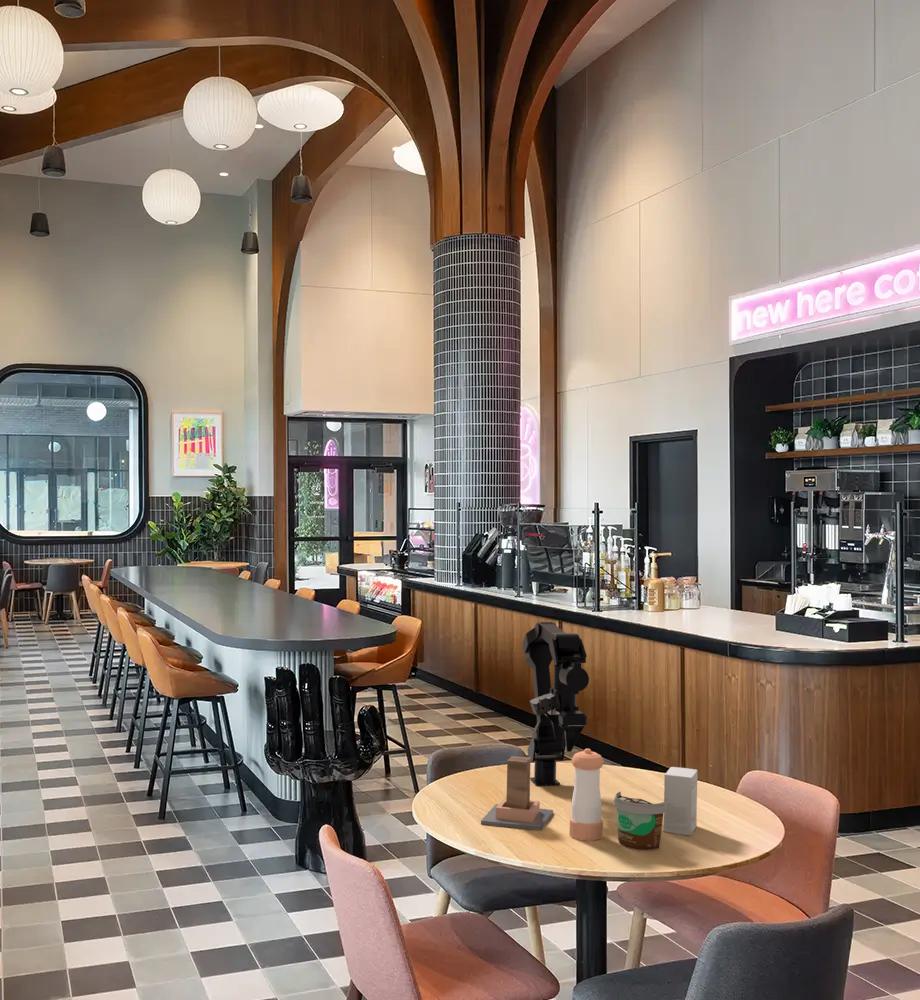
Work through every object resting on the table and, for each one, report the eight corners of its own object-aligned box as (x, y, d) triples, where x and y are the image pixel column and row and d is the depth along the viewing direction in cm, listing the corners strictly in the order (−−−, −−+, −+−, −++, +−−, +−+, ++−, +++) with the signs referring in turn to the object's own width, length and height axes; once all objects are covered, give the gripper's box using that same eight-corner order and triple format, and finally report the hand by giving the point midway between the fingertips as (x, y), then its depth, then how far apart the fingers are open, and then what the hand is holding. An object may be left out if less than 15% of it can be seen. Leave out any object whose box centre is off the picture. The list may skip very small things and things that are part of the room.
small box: (669, 822, 243) (670, 766, 243) (697, 825, 241) (698, 769, 241) (662, 832, 236) (663, 774, 236) (691, 836, 234) (692, 777, 234)
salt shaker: (596, 829, 236) (598, 744, 236) (606, 840, 229) (608, 752, 229) (565, 830, 235) (567, 745, 235) (574, 841, 228) (576, 753, 228)
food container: (601, 842, 228) (602, 796, 228) (617, 836, 232) (618, 790, 232) (649, 856, 219) (650, 808, 219) (665, 849, 224) (666, 802, 224)
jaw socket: (495, 807, 252) (496, 793, 252) (553, 813, 248) (553, 799, 248) (480, 824, 239) (481, 809, 239) (541, 830, 235) (541, 815, 235)
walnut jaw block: (510, 811, 246) (511, 756, 246) (529, 813, 245) (530, 757, 245) (506, 816, 242) (507, 760, 242) (525, 818, 241) (526, 762, 241)
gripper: (524, 678, 268) (522, 739, 268) (543, 691, 250) (542, 757, 250) (565, 677, 270) (564, 738, 270) (588, 690, 252) (587, 755, 252)
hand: (563, 747), depth 260 cm, fingers open, 9 cm apart
